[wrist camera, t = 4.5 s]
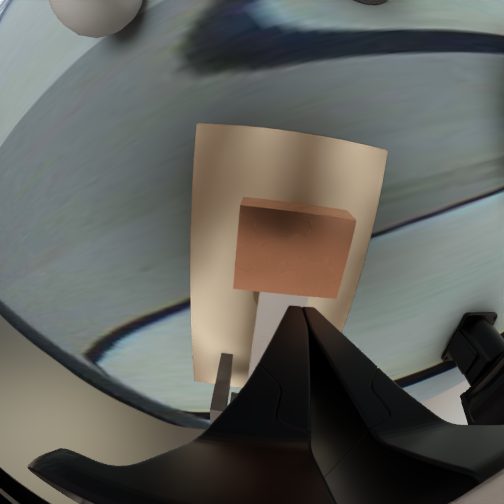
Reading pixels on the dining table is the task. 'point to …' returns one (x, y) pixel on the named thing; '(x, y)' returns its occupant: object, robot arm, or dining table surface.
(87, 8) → the donut
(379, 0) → the sundae
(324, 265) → the lever
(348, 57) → the dining table surface
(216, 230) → the base
